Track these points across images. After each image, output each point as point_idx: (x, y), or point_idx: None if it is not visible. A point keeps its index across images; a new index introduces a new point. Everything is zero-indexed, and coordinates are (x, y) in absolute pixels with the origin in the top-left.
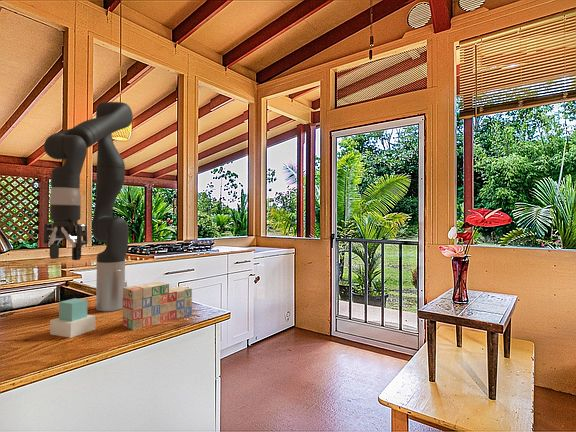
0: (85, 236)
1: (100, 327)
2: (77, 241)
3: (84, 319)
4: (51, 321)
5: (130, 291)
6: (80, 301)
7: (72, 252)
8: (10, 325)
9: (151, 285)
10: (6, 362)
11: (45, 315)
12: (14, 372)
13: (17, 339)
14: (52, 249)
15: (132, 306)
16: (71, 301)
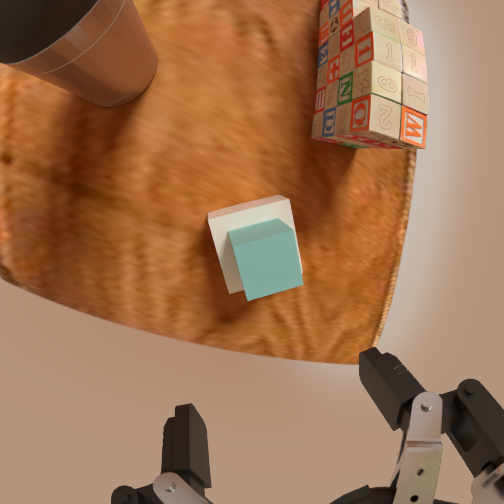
0: (497, 419)
1: (276, 178)
2: (451, 434)
3: (295, 234)
4: (233, 291)
5: (408, 144)
6: (296, 255)
7: (383, 408)
8: (89, 305)
9: (411, 67)
10: (313, 360)
11: (53, 225)
12: (355, 356)
13: (207, 328)
14: (209, 469)
15: (388, 146)
16: (271, 273)
